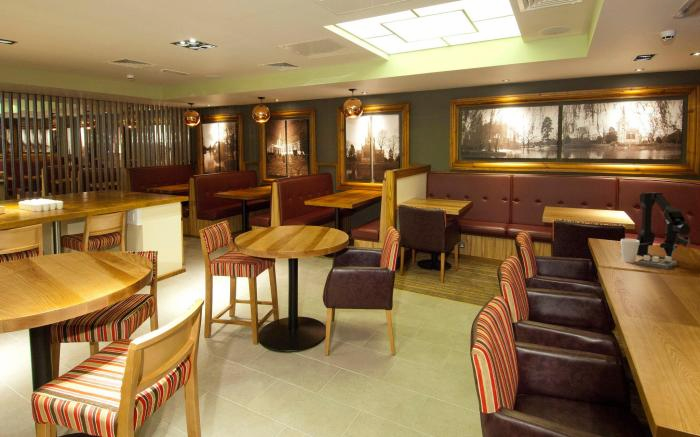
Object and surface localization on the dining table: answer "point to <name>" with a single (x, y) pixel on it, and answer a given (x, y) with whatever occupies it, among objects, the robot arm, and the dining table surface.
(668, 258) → the breaker
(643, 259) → the breaker
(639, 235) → the robot arm
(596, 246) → the dining table surface
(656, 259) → the breaker middle
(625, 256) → the foam cup
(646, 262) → the breaker panel
